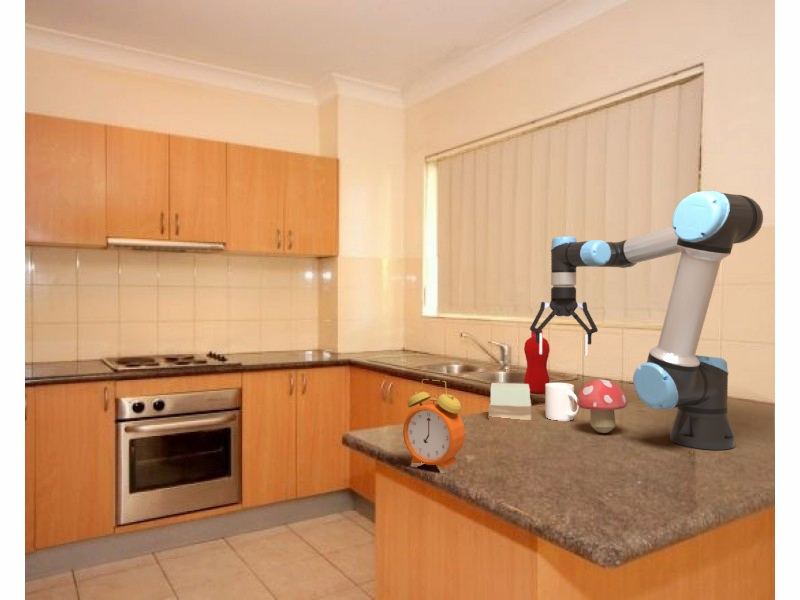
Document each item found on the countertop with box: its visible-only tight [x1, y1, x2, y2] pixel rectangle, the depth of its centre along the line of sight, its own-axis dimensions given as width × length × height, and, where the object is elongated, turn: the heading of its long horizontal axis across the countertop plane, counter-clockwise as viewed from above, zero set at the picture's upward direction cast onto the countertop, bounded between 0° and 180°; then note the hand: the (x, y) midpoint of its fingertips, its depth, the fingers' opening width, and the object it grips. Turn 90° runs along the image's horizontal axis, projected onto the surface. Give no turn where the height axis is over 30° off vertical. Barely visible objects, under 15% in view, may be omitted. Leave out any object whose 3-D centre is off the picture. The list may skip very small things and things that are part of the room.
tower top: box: [490, 382, 531, 406], centre depth 181 cm, size 12×12×5 cm
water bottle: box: [523, 329, 551, 395], centre depth 225 cm, size 9×11×25 cm
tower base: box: [488, 398, 532, 421], centre depth 180 cm, size 13×13×5 cm
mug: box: [544, 382, 580, 422], centre depth 175 cm, size 9×12×11 cm
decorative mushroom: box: [576, 379, 628, 434], centre depth 158 cm, size 13×13×15 cm
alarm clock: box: [402, 378, 466, 468], centre depth 128 cm, size 13×6×20 cm, turn 56°
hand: (563, 354), depth 175 cm, fingers open, 13 cm apart
